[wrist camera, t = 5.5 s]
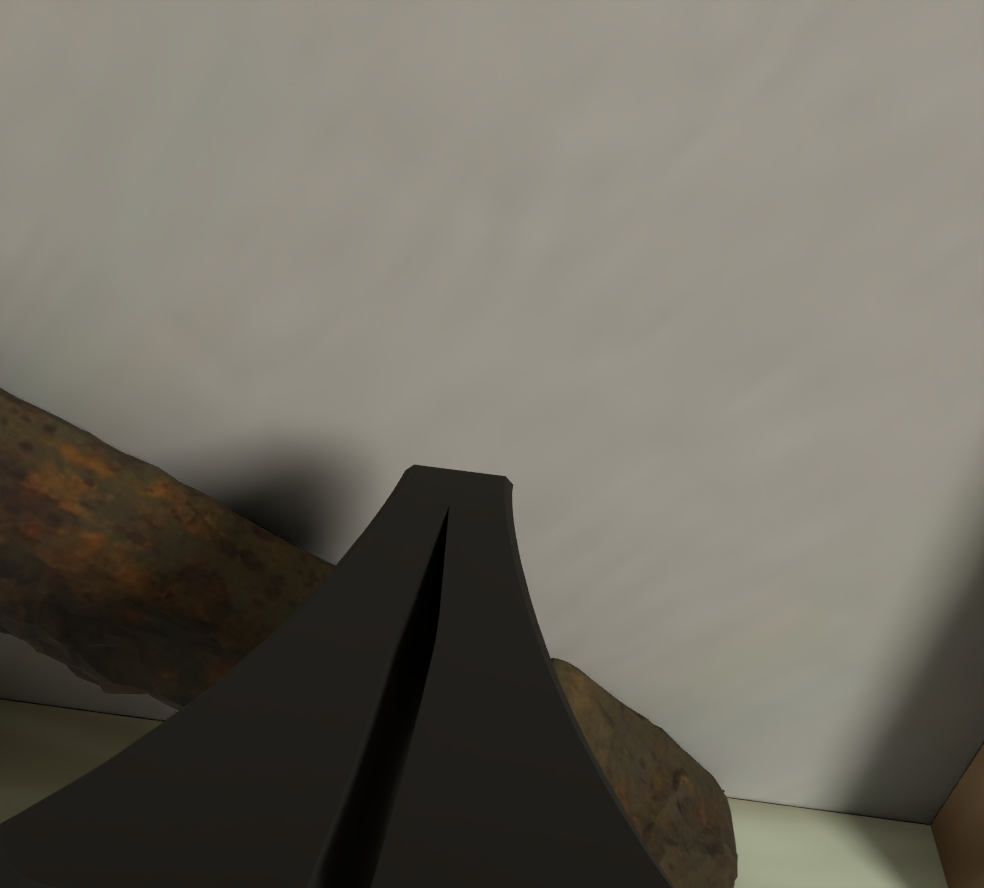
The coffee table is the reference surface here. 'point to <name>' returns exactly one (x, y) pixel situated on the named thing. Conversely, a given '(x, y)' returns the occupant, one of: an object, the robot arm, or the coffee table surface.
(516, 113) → the coffee table surface
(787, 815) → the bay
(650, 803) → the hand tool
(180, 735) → the robot arm
